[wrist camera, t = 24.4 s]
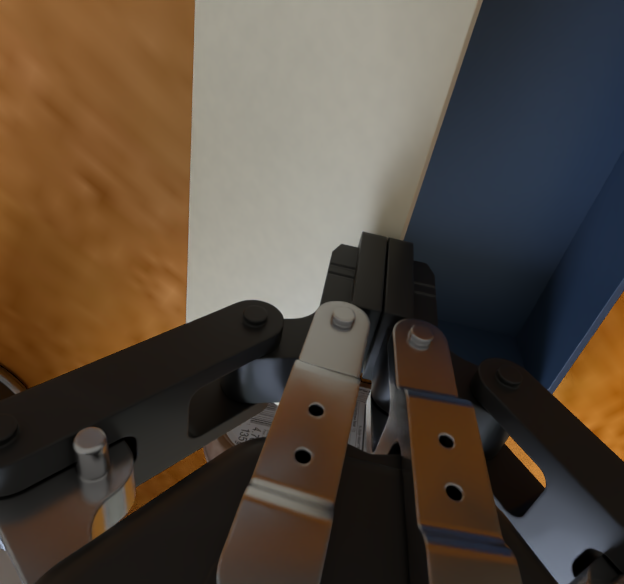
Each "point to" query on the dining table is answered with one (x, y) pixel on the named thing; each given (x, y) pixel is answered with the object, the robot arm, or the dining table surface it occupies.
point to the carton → (529, 186)
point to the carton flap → (309, 136)
